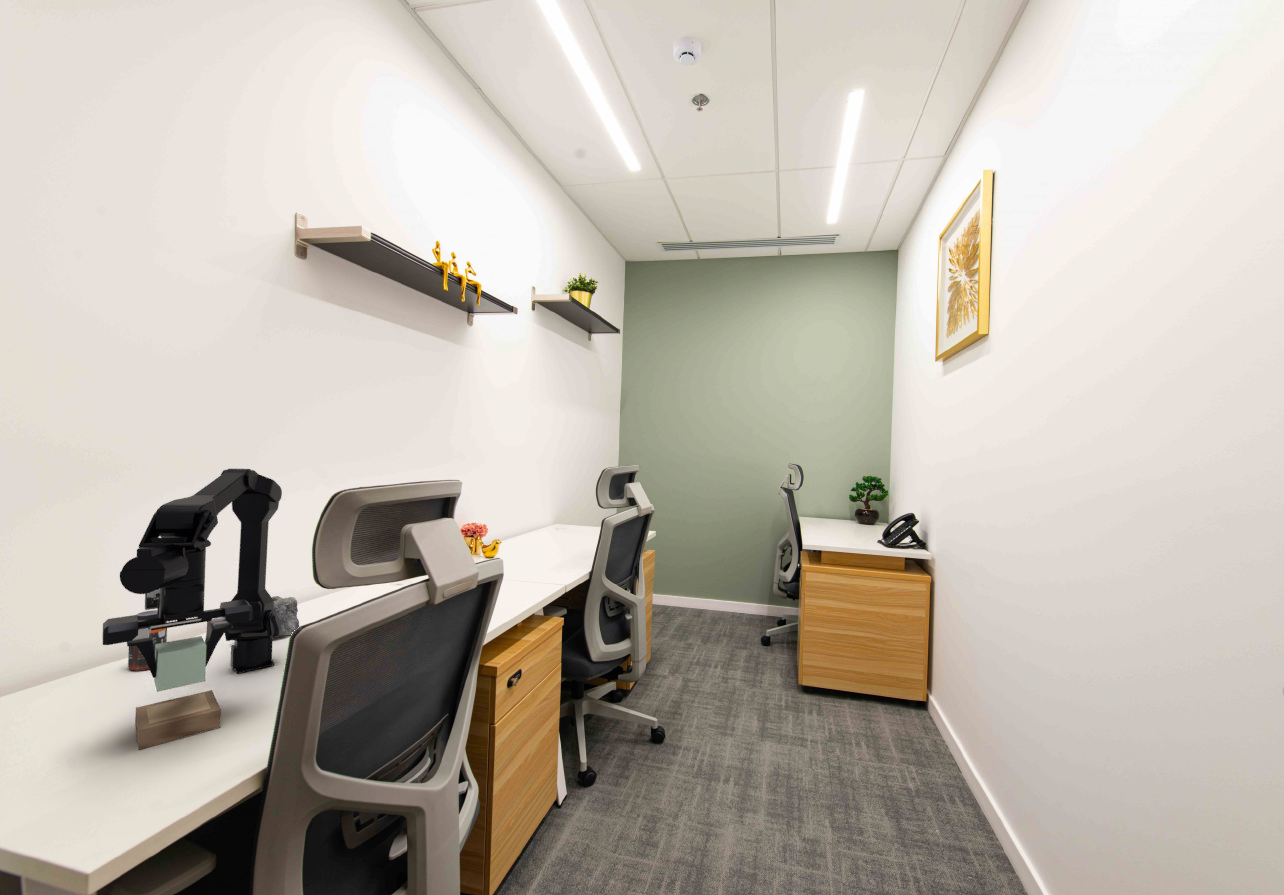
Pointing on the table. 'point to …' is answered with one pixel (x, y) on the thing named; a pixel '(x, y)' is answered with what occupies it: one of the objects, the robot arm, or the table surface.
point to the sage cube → (180, 663)
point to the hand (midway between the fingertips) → (180, 671)
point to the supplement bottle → (158, 636)
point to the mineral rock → (286, 614)
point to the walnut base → (176, 718)
